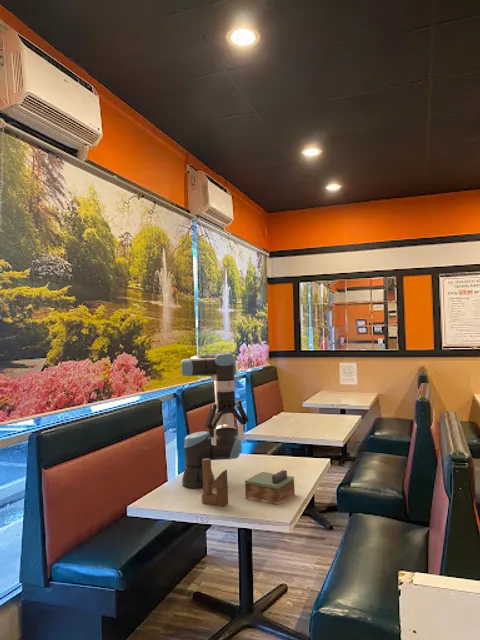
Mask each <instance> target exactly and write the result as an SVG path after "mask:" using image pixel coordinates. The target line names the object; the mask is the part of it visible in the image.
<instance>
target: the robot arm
mask: <svg viewBox="0 0 480 640" xmlns="http://www.w3.org/2000/svg"><path fill="white" fill-rule="evenodd" d="M180 363H181V365H180V366H181V375H182V376H183V377H195V376H196V377H210V380H211V381H212V382H213V383H214V384H213V385H214V401H215V402H214V403H215V404H214V403H211V404H210V410H209V414H208V416H207V418H206V421H205V424H204V428H206V429H208V431H197V432H193V433H190V434H188V435H186V436H185V437H184V446H183V448H184V461H185V462H184V463H185V464H184V465H185V466H184V467H185V468H184V471H183V474H182V475H183V476H182V479H181V482H182V484H181V485H182V486H183V487H184V488H189V489H203V467H202V460H203V459H205V458H209V459H211V461H221V460H222V461H223V460H235V459H238V458H239V457H240V453H241V443H242V441H245V435H244V433H245V431H246V425H247V423H248V422H249V418H248V416H247V414H246V412H245V409H244V408H243V404H242V401H241V400H236V391H235V375H237V364H236V361H235V356H234V354H233V353H232V352H217V353H216V352H213V353H201V354H197V355H192V356H191V357H190V358H184V359H182V360H181V361H180ZM234 417H235V418H234ZM235 419H236V420H237V421H238V425H237V427H238V428H237V427H236V426H235ZM211 476H212V483H213V482H214V481H215V480H216V479H215V475H214V473H213V470H212V469H211Z"/></svg>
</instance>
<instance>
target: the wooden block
mask: <svg viewBox="0 0 480 640" xmlns="http://www.w3.org/2000/svg"><path fill="white" fill-rule="evenodd" d="M202 467H203V488H202V489H203V493H202V495H201V503H202V504H204V505H205V504H207V505H213V506H218V507H226V506H228V505H229V490H228V489H229V488H228V487H229V486H228V485H229V482H228V469H225V470H223V471H222V472H221V473H220V474H219V475H218V476H217V477H216V478H215V479H214V480H215V481H214V482H213V483H212V476H211V470H212V460H211V459H209V458H205V459H203V460H202ZM213 489H216V490H215V491H216V493H213Z"/></svg>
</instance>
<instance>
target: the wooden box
mask: <svg viewBox="0 0 480 640" xmlns="http://www.w3.org/2000/svg"><path fill="white" fill-rule="evenodd" d="M244 491H245V493H244V494H245V495H244V496H245V499H246V500H250V501H251V500H252V501H256V502H262V503H267V504H272V505H277V506H279V505H280V504H282V503H284V502H285V501H287V500H289V499H291V497H293V496H294V495H295V479H294V480H293V481H291V482H289V483H288V484H286V485H284V486H282V487H281V488H279V489H274V488H268V487H262V486H256V485H250V484H245V483H244Z"/></svg>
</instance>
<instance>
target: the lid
mask: <svg viewBox="0 0 480 640" xmlns="http://www.w3.org/2000/svg"><path fill="white" fill-rule="evenodd" d="M293 480H294V481H295V477H294V476H291V475H288V471H287V470H284V469H282V470H279V472H277V473H272V472H265V471H264V472H263V471H261V472H259V473H257V474H255V475H254V476H251V477H249V478H247V479H245V480H244V485H245V484H250V485H256V486H262V487H268V488H274V489H279V488H281V487H282V486H284V485H286V484H288V483H289V482H291V481H293Z"/></svg>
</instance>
